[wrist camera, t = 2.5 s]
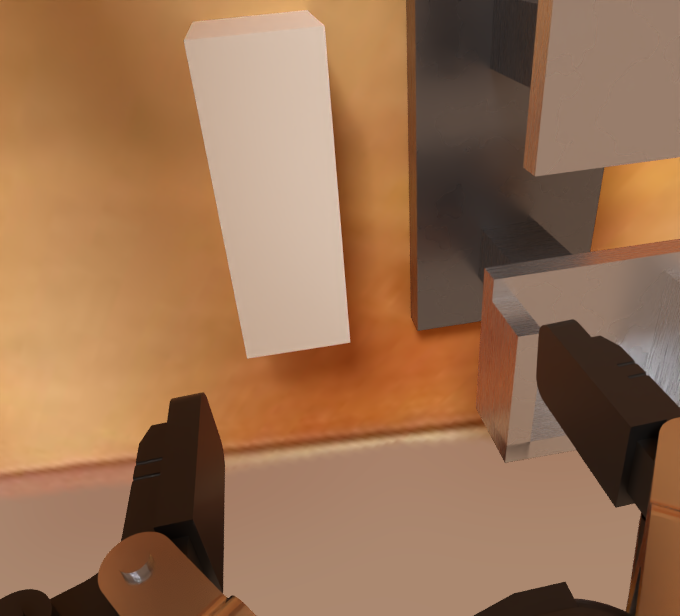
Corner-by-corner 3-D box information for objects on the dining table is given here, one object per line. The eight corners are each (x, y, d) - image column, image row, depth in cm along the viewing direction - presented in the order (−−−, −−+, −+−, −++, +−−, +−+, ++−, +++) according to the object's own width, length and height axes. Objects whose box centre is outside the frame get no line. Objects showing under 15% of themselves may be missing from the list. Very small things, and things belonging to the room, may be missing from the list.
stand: (411, 316, 36) (487, 474, 25) (405, -80, 25) (533, -96, 14) (568, 292, 36) (706, 434, 26) (628, -100, 26) (903, -129, 15)
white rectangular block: (244, 295, 33) (247, 358, 28) (192, 21, 26) (183, 40, 21) (332, 282, 34) (350, 342, 29) (306, 9, 26) (324, 25, 21)
